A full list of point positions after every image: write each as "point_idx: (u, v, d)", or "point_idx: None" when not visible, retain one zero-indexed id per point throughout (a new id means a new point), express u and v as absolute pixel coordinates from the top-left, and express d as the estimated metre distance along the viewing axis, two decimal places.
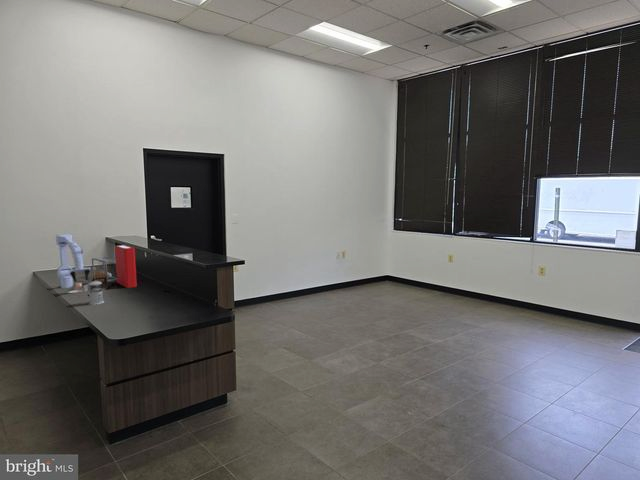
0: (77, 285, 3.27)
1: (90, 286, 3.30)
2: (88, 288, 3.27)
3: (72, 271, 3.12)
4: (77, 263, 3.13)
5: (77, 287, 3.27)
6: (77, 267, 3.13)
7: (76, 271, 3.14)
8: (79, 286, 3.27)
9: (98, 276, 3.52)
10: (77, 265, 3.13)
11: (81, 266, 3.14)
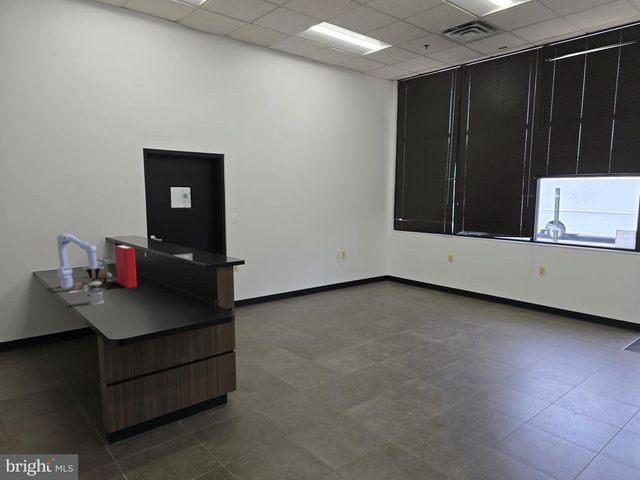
0: (77, 285, 3.27)
1: (90, 286, 3.30)
2: (88, 288, 3.27)
3: (86, 268, 3.28)
4: (89, 262, 3.25)
5: (77, 287, 3.27)
6: (89, 265, 3.26)
7: (89, 269, 3.28)
8: (79, 286, 3.27)
9: (98, 276, 3.52)
10: (89, 263, 3.26)
11: (92, 265, 3.26)
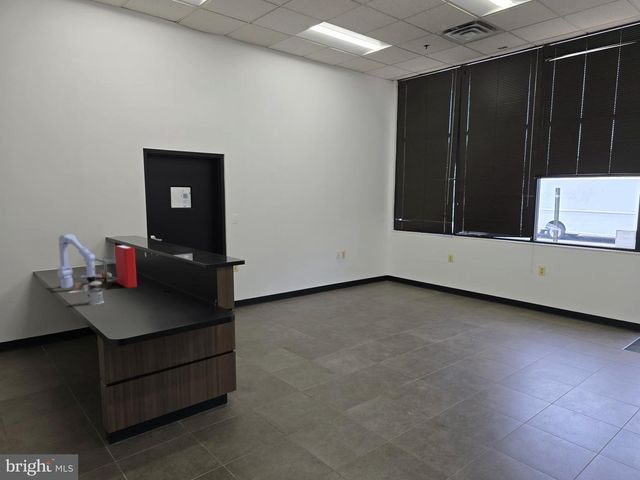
0: (77, 285, 3.27)
1: (90, 286, 3.30)
2: (88, 288, 3.27)
3: None
4: (87, 271, 3.26)
5: (77, 287, 3.27)
6: (87, 274, 3.27)
7: (88, 277, 3.29)
8: (79, 286, 3.27)
9: None
10: (87, 272, 3.26)
11: (90, 273, 3.26)
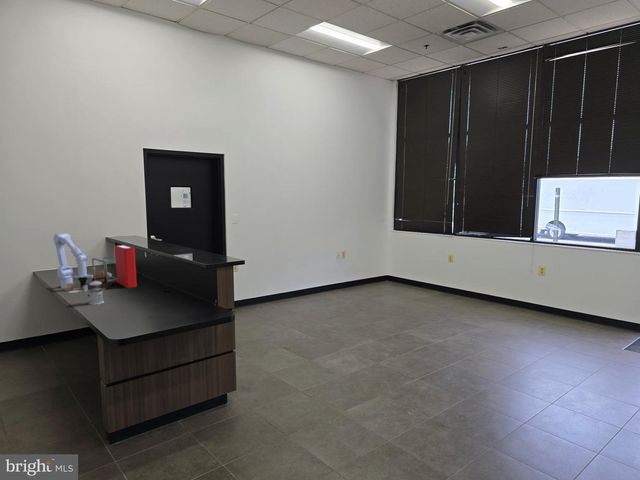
0: (68, 285, 3.26)
1: (81, 286, 3.29)
2: (79, 288, 3.26)
3: (76, 277, 3.28)
4: (79, 271, 3.25)
5: (68, 287, 3.26)
6: (79, 274, 3.26)
7: (79, 277, 3.28)
8: (70, 286, 3.26)
9: (98, 276, 3.52)
10: (79, 272, 3.25)
11: (82, 274, 3.26)
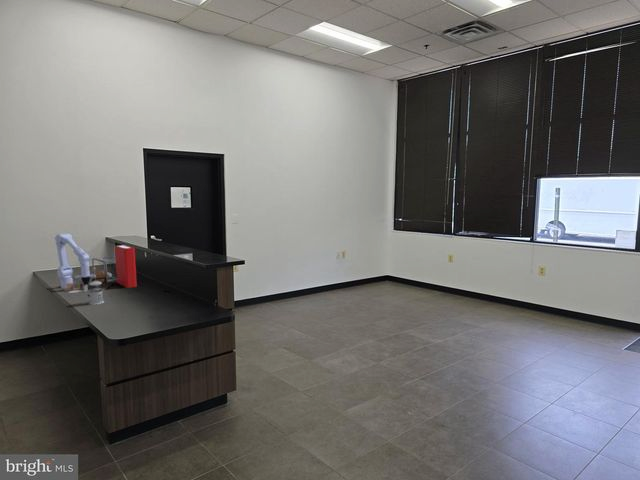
0: (68, 285, 3.26)
1: (81, 286, 3.29)
2: (79, 288, 3.26)
3: (78, 277, 3.28)
4: (82, 271, 3.25)
5: (68, 287, 3.26)
6: (81, 274, 3.26)
7: None
8: (70, 286, 3.26)
9: (98, 276, 3.52)
10: (81, 272, 3.26)
11: (85, 273, 3.26)
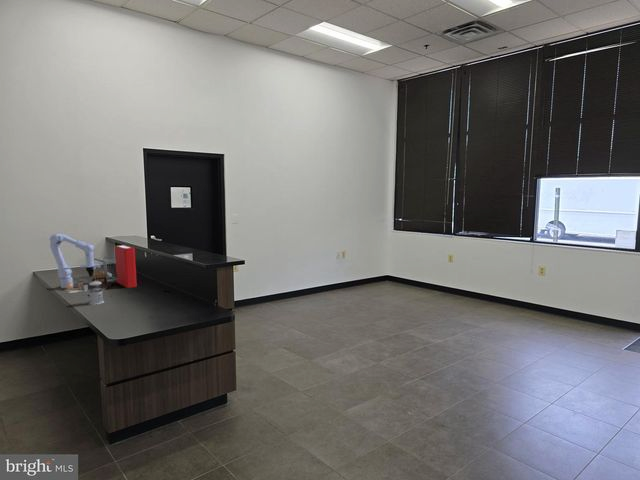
0: (68, 285, 3.26)
1: (81, 286, 3.29)
2: (79, 288, 3.26)
3: (83, 267, 3.35)
4: (86, 261, 3.32)
5: (68, 287, 3.26)
6: (86, 264, 3.33)
7: None
8: (70, 286, 3.26)
9: (98, 276, 3.52)
10: (86, 262, 3.32)
11: (89, 263, 3.33)
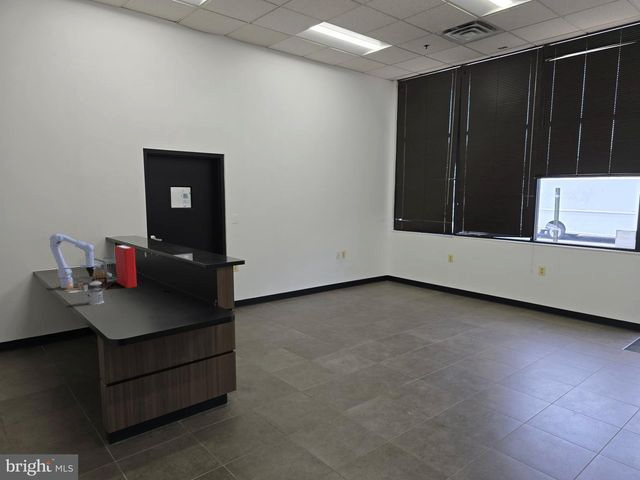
0: (68, 285, 3.26)
1: (81, 286, 3.29)
2: (79, 288, 3.26)
3: None
4: (87, 261, 3.33)
5: (68, 287, 3.26)
6: (86, 264, 3.33)
7: (87, 267, 3.35)
8: (70, 286, 3.26)
9: (98, 276, 3.52)
10: (86, 262, 3.33)
11: (89, 263, 3.33)
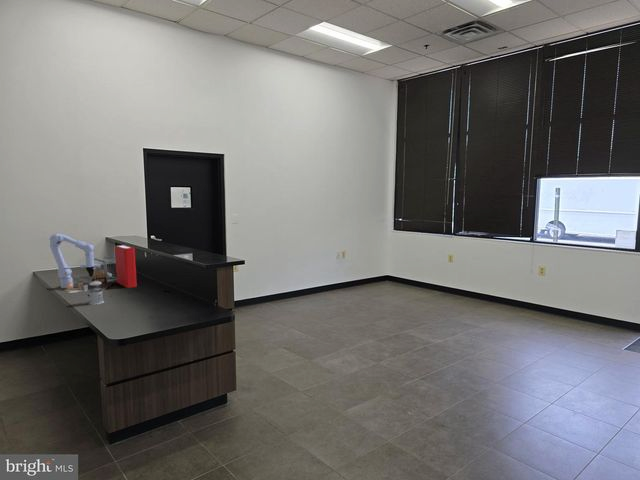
0: (68, 285, 3.26)
1: (81, 286, 3.29)
2: (79, 288, 3.26)
3: None
4: (87, 261, 3.33)
5: (68, 287, 3.26)
6: (86, 264, 3.33)
7: (87, 267, 3.35)
8: (70, 286, 3.26)
9: (98, 276, 3.52)
10: (86, 262, 3.33)
11: (89, 263, 3.33)
